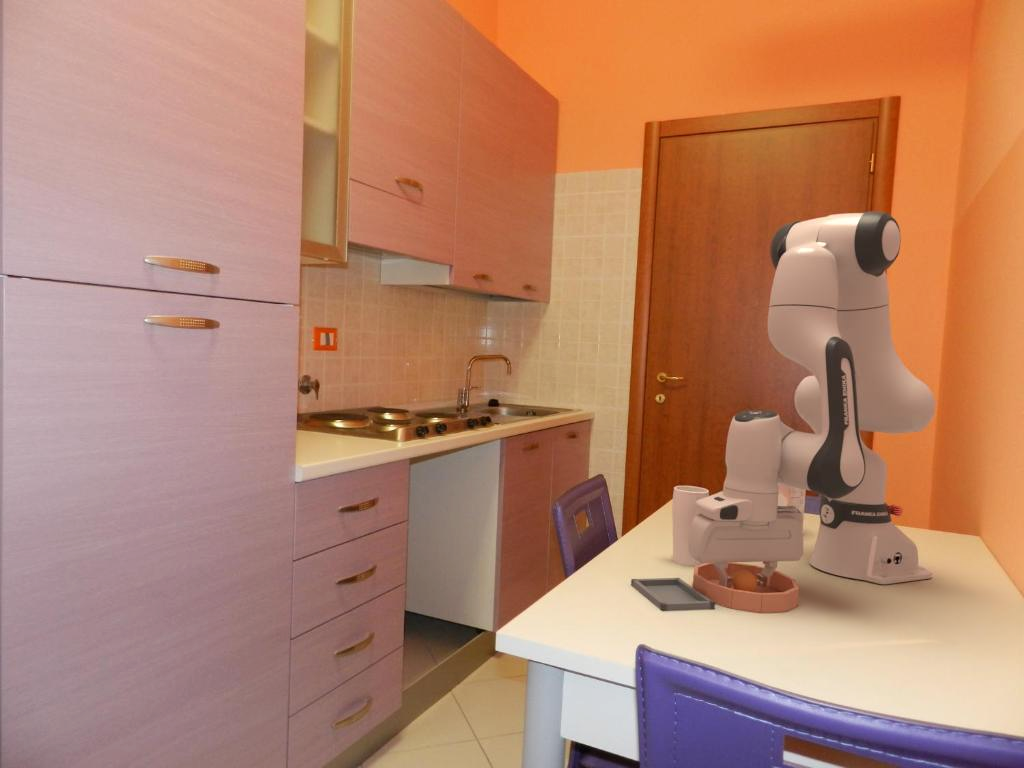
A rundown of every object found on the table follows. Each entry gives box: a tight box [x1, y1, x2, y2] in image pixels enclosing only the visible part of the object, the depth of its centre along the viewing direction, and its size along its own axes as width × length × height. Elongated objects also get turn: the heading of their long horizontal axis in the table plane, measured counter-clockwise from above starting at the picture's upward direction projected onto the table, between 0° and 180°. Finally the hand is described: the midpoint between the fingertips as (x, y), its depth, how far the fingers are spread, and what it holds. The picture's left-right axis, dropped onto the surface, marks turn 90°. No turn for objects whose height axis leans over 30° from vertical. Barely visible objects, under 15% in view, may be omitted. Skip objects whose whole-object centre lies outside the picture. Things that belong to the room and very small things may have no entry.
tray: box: [630, 577, 716, 612], centre depth 112 cm, size 9×12×2 cm
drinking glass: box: [671, 485, 710, 567], centre depth 132 cm, size 7×7×15 cm
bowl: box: [692, 562, 800, 614], centre depth 115 cm, size 17×17×4 cm
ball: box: [732, 570, 757, 592], centre depth 115 cm, size 4×4×4 cm
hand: (744, 586), depth 115 cm, fingers open, 6 cm apart
